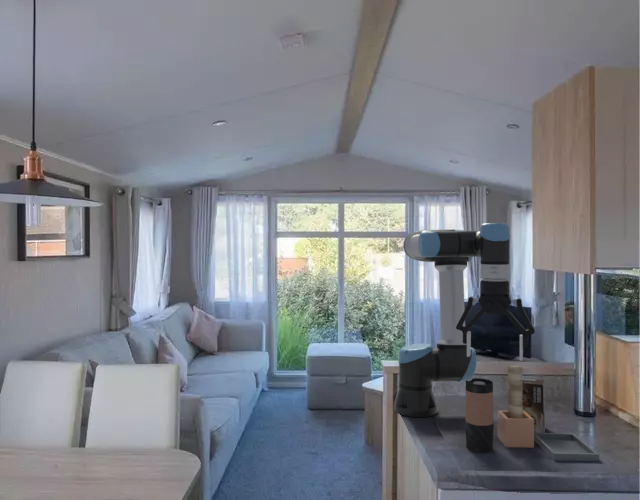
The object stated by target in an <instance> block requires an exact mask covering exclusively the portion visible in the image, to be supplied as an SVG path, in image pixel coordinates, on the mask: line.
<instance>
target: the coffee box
mask: <svg viewBox="0 0 640 500" xmlns="http://www.w3.org/2000/svg"><path fill="white" fill-rule="evenodd" d="M522 405H523V411H525V412H527V413H528V414H529V415H530V416H531V417H532V418H533V419H534V433H546V431H545V430H546V413H545V412H546V411H545V410H546V409H545V405H546V404H545V380H544V379H538V378H537V379H536V378H528V377H526V378H525V377H522Z"/></svg>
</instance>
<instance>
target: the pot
mask: <svg viewBox="0 0 640 500" xmlns="http://www.w3.org/2000/svg"><path fill="white" fill-rule="evenodd" d="M534 433H535V432H534V419H533V418H532V417H531V416H530V415H529V414H528V413H527V412H525V411H523V418H508V410H501V409H500V410H499V409H498V410H497V438H498V440H499V441H500V442H501V443H502V445H503V446H504V447H505V448H535V441H534Z"/></svg>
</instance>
